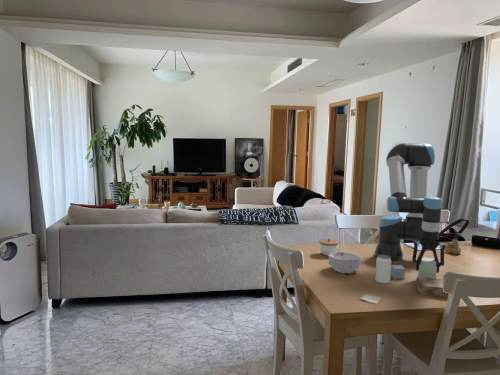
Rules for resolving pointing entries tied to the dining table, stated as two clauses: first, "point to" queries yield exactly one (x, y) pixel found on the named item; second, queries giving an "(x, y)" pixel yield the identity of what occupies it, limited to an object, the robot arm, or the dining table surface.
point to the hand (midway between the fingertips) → (426, 278)
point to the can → (383, 269)
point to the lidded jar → (328, 246)
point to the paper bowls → (344, 261)
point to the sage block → (428, 267)
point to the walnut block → (430, 286)
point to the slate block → (397, 271)
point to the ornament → (453, 247)
